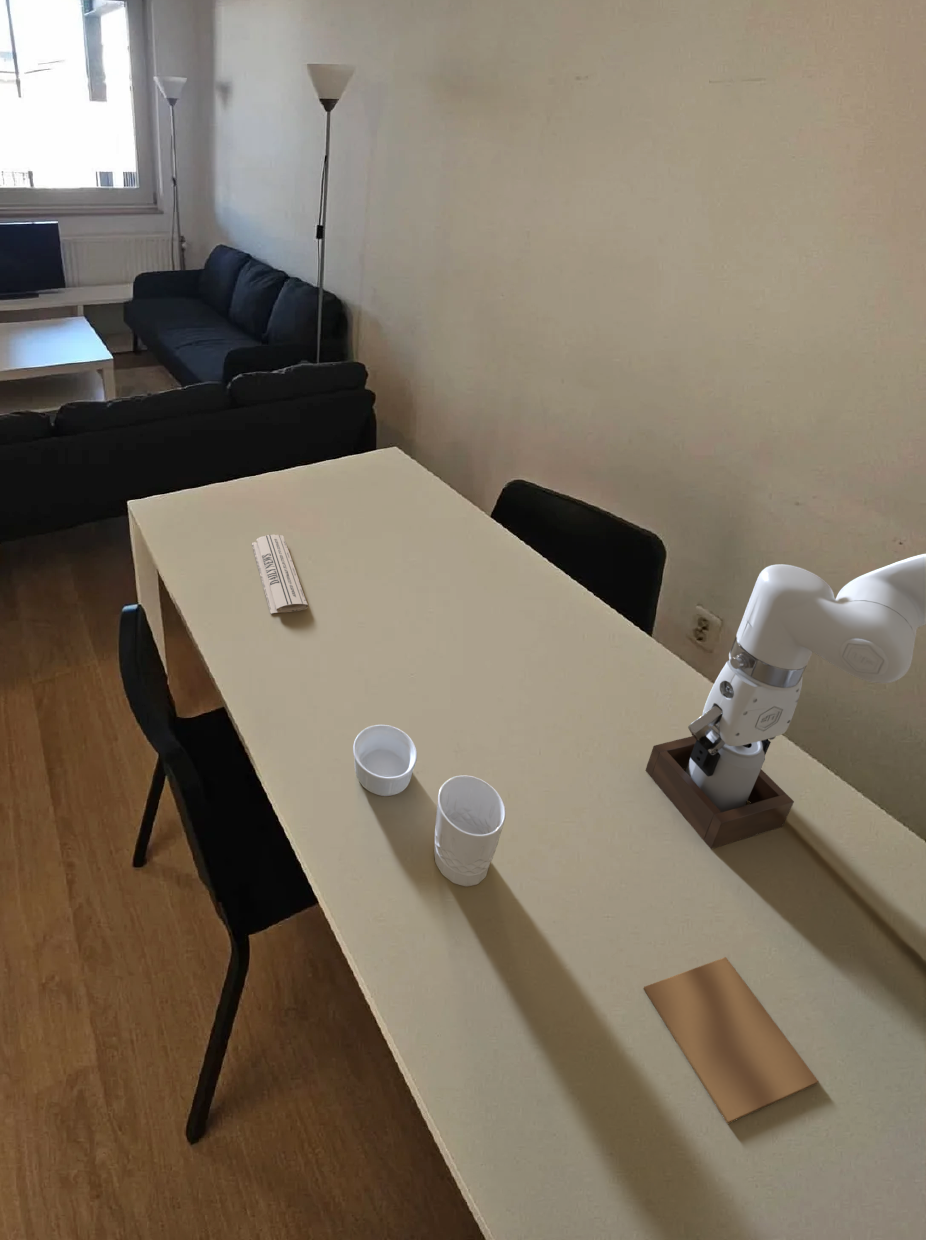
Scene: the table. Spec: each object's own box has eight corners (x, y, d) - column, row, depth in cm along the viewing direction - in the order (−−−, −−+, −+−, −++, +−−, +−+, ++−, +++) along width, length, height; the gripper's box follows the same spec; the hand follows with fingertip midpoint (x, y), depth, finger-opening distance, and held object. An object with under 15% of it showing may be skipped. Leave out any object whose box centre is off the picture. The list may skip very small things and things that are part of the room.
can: (753, 824, 89) (782, 760, 84) (697, 822, 89) (723, 758, 84) (722, 774, 96) (747, 713, 91) (671, 772, 96) (693, 710, 91)
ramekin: (406, 810, 89) (409, 787, 87) (343, 787, 92) (345, 765, 90) (420, 757, 97) (423, 735, 95) (361, 738, 99) (363, 716, 98)
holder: (711, 753, 99) (720, 728, 97) (782, 827, 89) (794, 801, 87) (645, 770, 96) (653, 745, 94) (710, 849, 86) (721, 823, 84)
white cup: (425, 827, 87) (434, 773, 83) (486, 830, 87) (497, 777, 83) (433, 890, 80) (443, 834, 76) (499, 894, 80) (512, 838, 76)
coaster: (724, 959, 74) (725, 956, 74) (817, 1083, 65) (818, 1081, 64) (643, 988, 71) (643, 986, 71) (727, 1124, 62) (728, 1122, 62)
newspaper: (307, 609, 126) (308, 602, 125) (270, 614, 124) (270, 606, 123) (283, 540, 147) (283, 533, 146) (251, 543, 145) (251, 536, 144)
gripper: (736, 695, 77) (695, 800, 84) (848, 668, 82) (800, 770, 89) (686, 649, 84) (652, 750, 91) (793, 628, 88) (752, 725, 95)
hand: (725, 760), depth 90 cm, fingers closed on can, 7 cm apart
